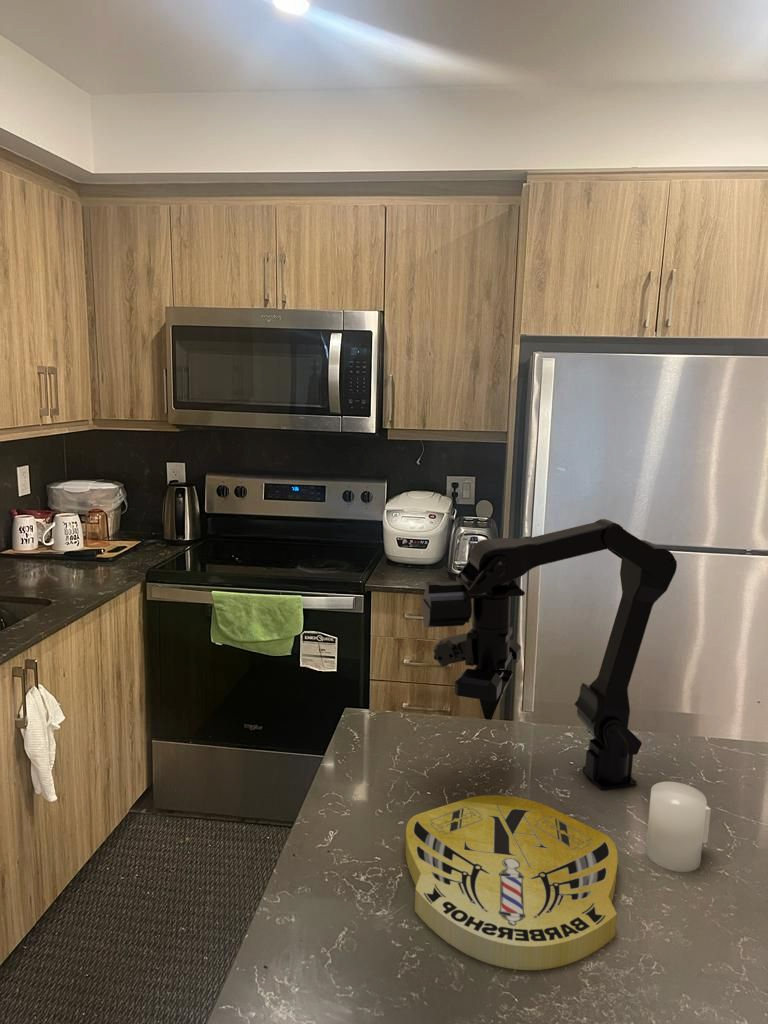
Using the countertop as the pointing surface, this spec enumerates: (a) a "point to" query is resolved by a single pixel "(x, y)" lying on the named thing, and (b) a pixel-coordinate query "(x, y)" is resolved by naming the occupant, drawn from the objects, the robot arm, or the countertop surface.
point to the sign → (513, 881)
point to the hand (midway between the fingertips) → (488, 718)
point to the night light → (677, 826)
